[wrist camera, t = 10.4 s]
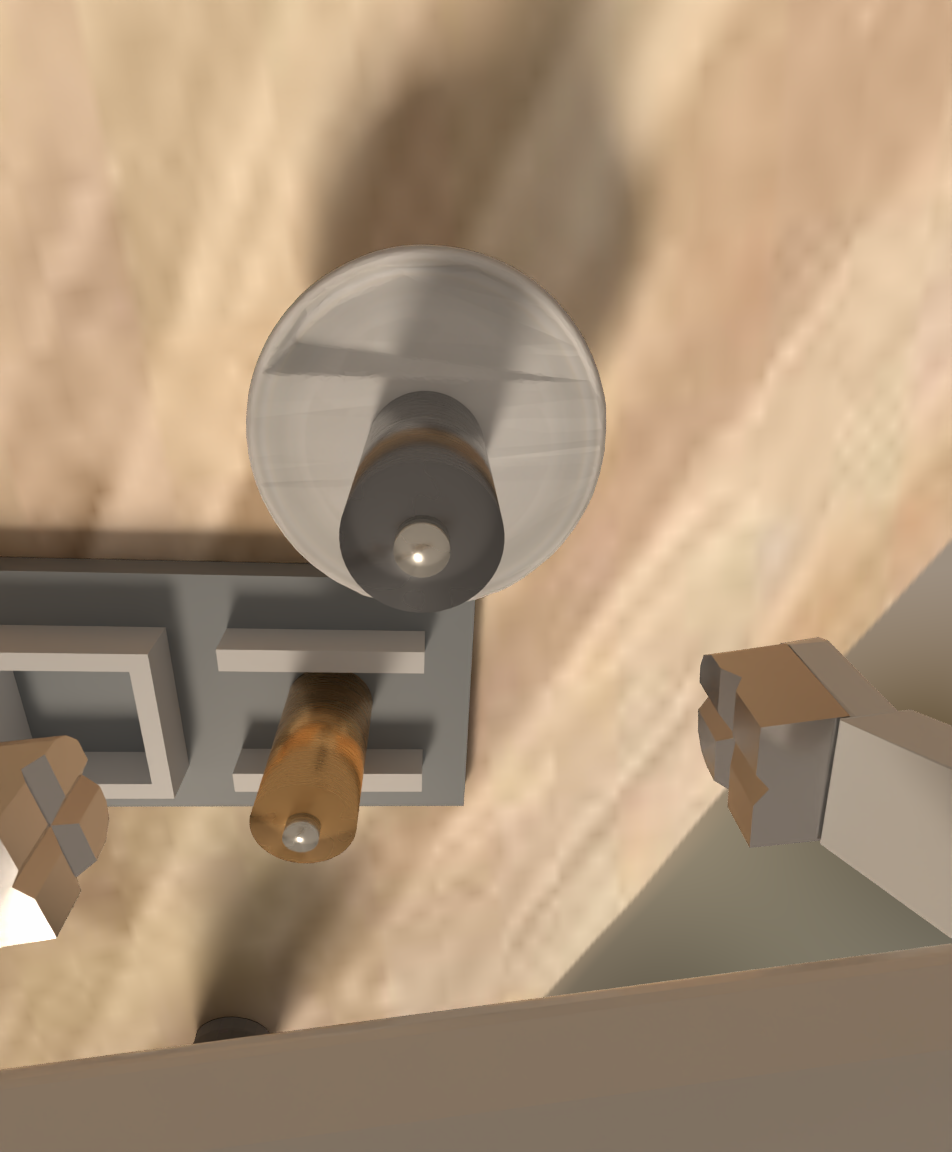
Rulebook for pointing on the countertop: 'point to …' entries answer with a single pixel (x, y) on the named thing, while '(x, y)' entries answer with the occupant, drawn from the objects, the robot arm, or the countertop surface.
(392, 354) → the ramekin
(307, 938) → the countertop surface
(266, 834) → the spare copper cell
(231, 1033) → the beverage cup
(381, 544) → the cylinder
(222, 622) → the gray slab
